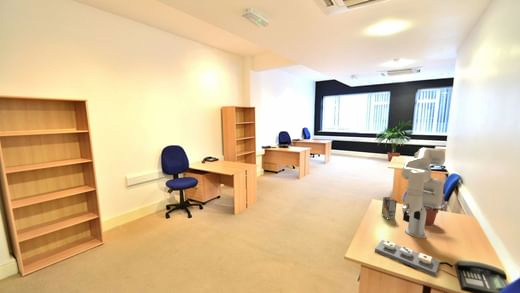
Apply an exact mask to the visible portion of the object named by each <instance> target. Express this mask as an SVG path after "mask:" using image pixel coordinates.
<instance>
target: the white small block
mask: <svg viewBox="0 0 520 293" xmlns="http://www.w3.org/2000/svg"><path fill="white" fill-rule="evenodd" d="M400 247H401V249H400V253H403V255H405V256H407V257H408V256H410V257H411V255H412V253H413V251H414V249H412V248H408V247H405V246H403V245H402V246H400Z"/></svg>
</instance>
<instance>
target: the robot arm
mask: <svg viewBox="0 0 520 293" xmlns="http://www.w3.org/2000/svg"><path fill="white" fill-rule="evenodd" d="M445 161H446V152H445V151H444V150H443V149H441V148H431V147H421V148H419V149H418V151H417V152H414V158H413V159H411V160H408V161H407V162H406V163H404V165H403V168H402V169H401V178H402V179H404V180H407V190H406V194H405V197H404V201H403V207H402V208H401V209H402V214H403V217H402V221H404V222H406V223H408V226H407V227H406V228H405V229H404V230H405V233H406V234H407V235H409V236H412V237H414V238H417V239H418V238H419V239H426V238H427V233H426V232H425V226H426V224H425V221H426V210H425V208H424V207H423V206H427V207H431V208H438V209H440V208H441V206H442V203H443V202H442V201H443V193H444V182H443V180H441V179H439V178H435V177H432V169H431V167H430V165H434V166H442V165H444V164H445ZM423 190H424V191H423ZM425 190H426V192H425ZM428 191H431V192H433V193H429V192H428Z"/></svg>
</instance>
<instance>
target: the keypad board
mask: <svg viewBox="0 0 520 293" xmlns="http://www.w3.org/2000/svg"><path fill="white" fill-rule="evenodd" d="M385 241H386V240H385V239H382V240H381V241H380V242H379V243H378V244H377V245H376V247H375V248H374V252H375V253H378V254H380V255H383V256H385V257H388V258H391V259H393V260H395V261H397V262H399V263H402V264H404V265H407V266H409V265H410V267H412V268H414V269H416V270H418V271H422V272H424V273H427V274H429V275H431V276H433V277H436V276H437V272H438V270H439V266H440V261H441V260H438V259H434V258H433V257H432V260H431V263H430V264H428V263H427V264H425V263H423V262H422V261H421V260H418V256H419V254H420V252H416V251H414V250H413V253H412V255H411V257H410V256H408V257H407V256H405V255H403V253H400V249H401V247H402V246H401V245H397V244H396V247H395V248H394V249H393V250H392V249H391V250H389V249H387V247H385V246H383V243H384V242H385Z"/></svg>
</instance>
